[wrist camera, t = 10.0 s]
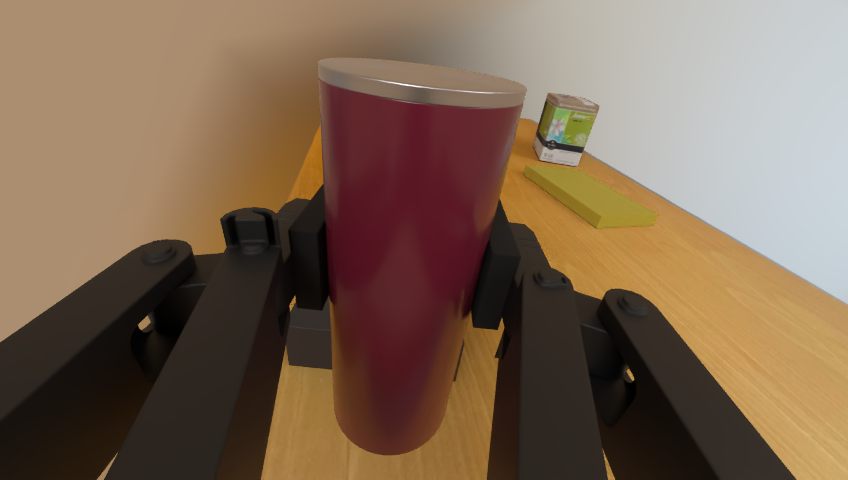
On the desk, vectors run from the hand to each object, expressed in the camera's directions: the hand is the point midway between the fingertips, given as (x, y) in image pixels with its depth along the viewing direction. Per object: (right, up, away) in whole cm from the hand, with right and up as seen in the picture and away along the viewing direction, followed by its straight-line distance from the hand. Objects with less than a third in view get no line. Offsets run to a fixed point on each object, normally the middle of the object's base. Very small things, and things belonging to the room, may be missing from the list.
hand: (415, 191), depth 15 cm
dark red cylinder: (-1, -9, -1) cm, 9 cm away
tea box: (+35, +20, +76) cm, 86 cm away
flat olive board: (+32, +6, +52) cm, 61 cm away
